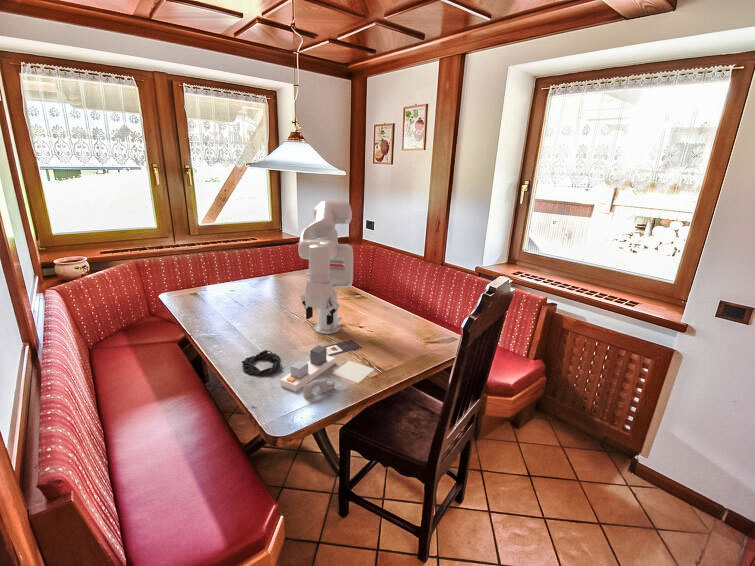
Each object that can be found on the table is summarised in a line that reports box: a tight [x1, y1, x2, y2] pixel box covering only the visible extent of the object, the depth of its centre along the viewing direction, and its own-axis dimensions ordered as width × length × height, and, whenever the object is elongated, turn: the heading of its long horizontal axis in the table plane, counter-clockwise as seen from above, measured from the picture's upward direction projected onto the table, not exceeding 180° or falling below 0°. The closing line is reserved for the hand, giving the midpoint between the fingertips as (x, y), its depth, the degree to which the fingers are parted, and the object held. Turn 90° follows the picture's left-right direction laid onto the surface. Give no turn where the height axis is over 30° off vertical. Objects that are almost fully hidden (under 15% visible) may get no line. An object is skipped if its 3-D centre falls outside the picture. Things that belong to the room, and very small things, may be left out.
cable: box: [241, 349, 282, 377], centre depth 146 cm, size 17×14×4 cm
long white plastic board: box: [279, 355, 336, 392], centre depth 142 cm, size 24×7×4 cm, turn 151°
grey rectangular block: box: [309, 345, 327, 366], centre depth 146 cm, size 5×4×8 cm
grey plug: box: [290, 360, 308, 380], centre depth 137 cm, size 5×4×6 cm
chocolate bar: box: [323, 339, 363, 357], centre depth 164 cm, size 9×1×18 cm
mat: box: [331, 360, 375, 384], centre depth 146 cm, size 12×12×1 cm
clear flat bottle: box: [302, 377, 336, 399], centre depth 130 cm, size 12×2×6 cm, turn 126°
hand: (319, 320), depth 141 cm, fingers open, 9 cm apart
